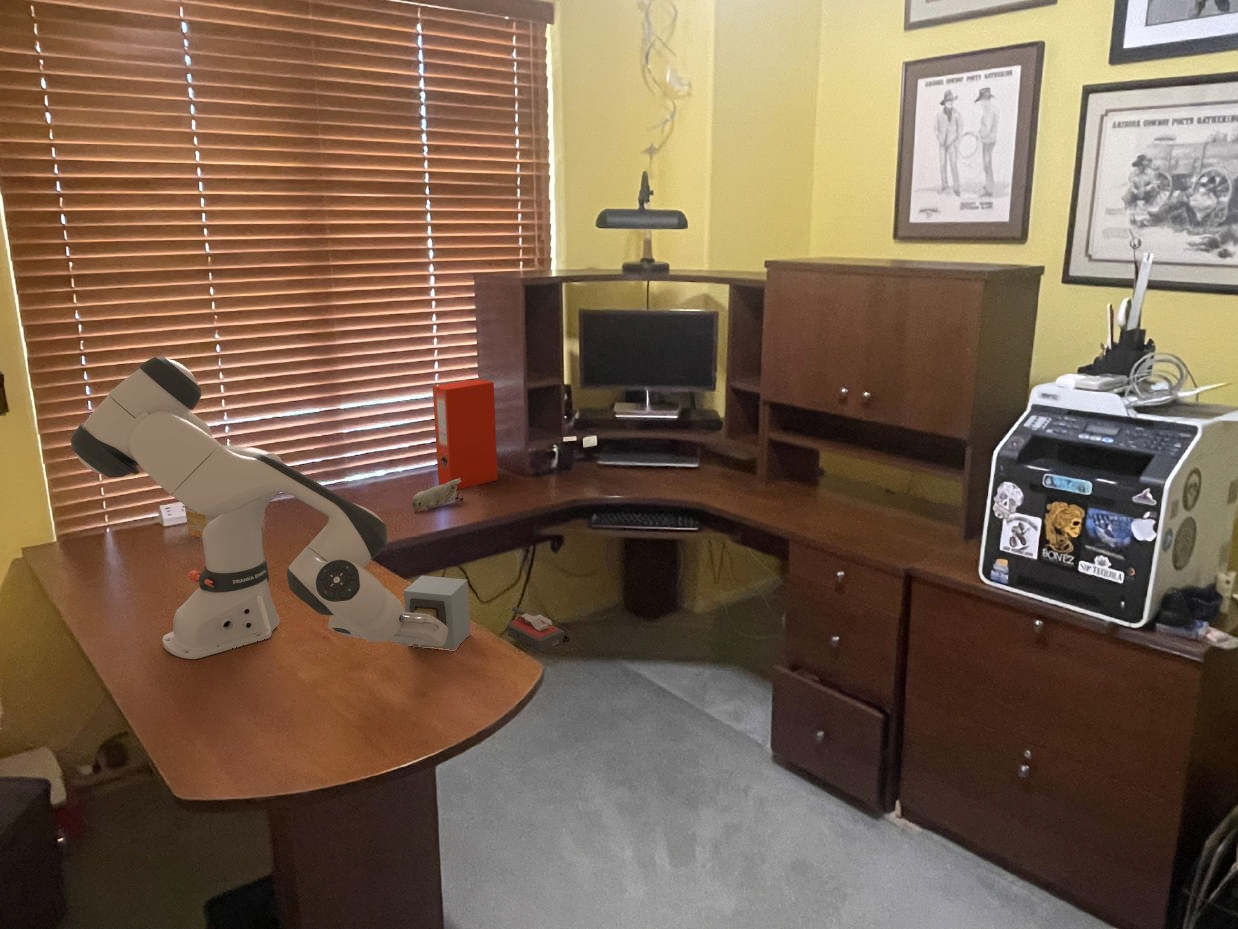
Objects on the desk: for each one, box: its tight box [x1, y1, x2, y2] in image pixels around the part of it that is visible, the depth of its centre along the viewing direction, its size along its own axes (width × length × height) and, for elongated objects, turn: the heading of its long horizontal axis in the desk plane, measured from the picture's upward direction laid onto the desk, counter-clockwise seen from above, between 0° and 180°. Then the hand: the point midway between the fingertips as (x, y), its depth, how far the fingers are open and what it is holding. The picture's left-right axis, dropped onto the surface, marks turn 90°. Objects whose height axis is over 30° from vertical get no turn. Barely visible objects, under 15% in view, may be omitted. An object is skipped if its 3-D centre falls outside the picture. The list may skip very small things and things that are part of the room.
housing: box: [403, 575, 472, 650], centre depth 181 cm, size 9×10×12 cm
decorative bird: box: [411, 478, 464, 514], centre depth 266 cm, size 5×16×8 cm, turn 130°
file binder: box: [432, 378, 499, 491], centre depth 286 cm, size 8×17×32 cm, turn 132°
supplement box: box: [184, 505, 219, 539], centre depth 244 cm, size 8×5×13 cm, turn 62°
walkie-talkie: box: [506, 606, 571, 653], centre depth 186 cm, size 9×4×20 cm
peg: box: [404, 607, 438, 648], centre depth 176 cm, size 14×4×4 cm, turn 166°
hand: (406, 641), depth 169 cm, fingers closed, pressing on peg
